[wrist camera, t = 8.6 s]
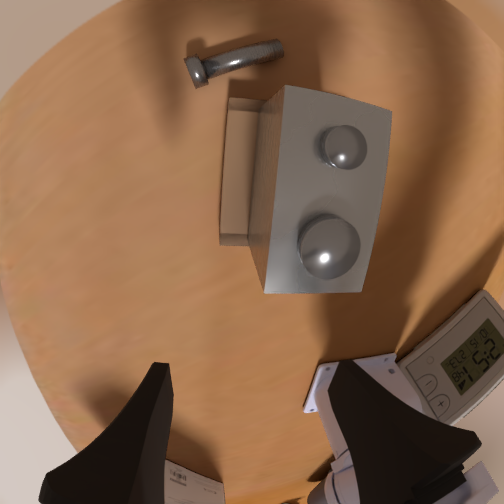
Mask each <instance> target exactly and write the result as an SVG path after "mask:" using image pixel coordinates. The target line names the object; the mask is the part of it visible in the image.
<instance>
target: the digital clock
mask: <svg viewBox="0 0 504 504" xmlns="http://www.w3.org/2000/svg"><path fill="white" fill-rule="evenodd" d="M397 366H398V367H399V369H400V370H401V371H402V373H403V374H404V376H405V377H406V379H407V380H408V381H409V383H410V384H411V386H412V387H413V389H414V390H415V391H416V393H417V395H418V396H419V399H420V401H421V405H422V413H423V414H425V415H426V416H429V417H431V418H433V419H435V420H437V421H440V422H442V423H445V424H448V425H451V426H453V425H454V424H455V423H457V422H458V421H459V420H460V419H461V418H464V417H465V416H466V415H467V414H469V413H470V412H471V411H472V410H473V409H474V408H475V407H476V406H477V405H478V404H480V403H481V402H482V401H483V400H484V399H485V398H486V397H487V396H488V395H489V394H490V393H491V392H492V391H493V390H494V389H495V388H496V387H497V386H498V385H499V384H500V382H501V381H502V380H503V379H504V310H503V309H502V308H501V307H500V305H499V304H498V303H497V302H496V300H495V299H494V298H493V297H492V296H491V295H490V294H489V293H488V292H487V291H486V290H484V289H482V290H480V291H478V292H477V293H476V294H475V295H474V296H473V297H472V299H471V300H470V301H469V302H468V303H467V304H465V303H464V304H463V305H462V306H461V307H460V308H459V309H458V310H457V311H456V312H455V313H454V314H453V315H452V316H451V317H450V318H449V319H448V320H447V321H445V322H444V323H443V324H442V325H441V326H440V327H439V328H438V329H436V330H435V331H434V332H433V333H432V334H431V335H429V336H428V337H427V338H426V339H425V340H423V341H422V342H421V343H420V344H418V345H417V346H416V347H415V348H414V350H413V351H412V352H411V353H409V354H408V355H407V356H405V357H404V358H403V359H401V360H400V361H399V362H398V363H397Z"/></svg>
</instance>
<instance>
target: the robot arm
mask: <svg viewBox="0 0 504 504" xmlns="http://www.w3.org/2000/svg"><path fill="white" fill-rule="evenodd" d="M396 357H397V355H396V354H395V353H390V354H385V355H380V356H374V357H368V358H362V359H355V360H352V359H350V360H342V361H339V362H333V363H325V364H321V365H319V366H318V368H317V371H316V374H315V377H314V380H313V383H312V386H311V389H310V391H309V394H308V397H307V400H306V402H305V405H304V408H303V411H304V413H310V412H317V411H318V412H319V415H320V418H321V421H322V423H323V426H324V429H325V432H326V434H327V437H328V440H329V443H330V445H331V448H332V451H333V454H334V456H335V459H336V460H335V461H334V462H332V463H331V467H332V470H333V471H332V472H330V473H329V474H328V476H327V478H326V482H325V486H324V490H325V496H326V500H327V502H328V504H486V503H487V502H488V501H489V500H490V499H491V498H493V496H494V495H495V494H497V493H498V491H499V490H498V488H497V486H496V484H495V483H494V481H493V479H492V477H491V476H490V474H489V473H488V471H487V469H486V467H485V466H484V464H483V462H482V461H480V462H478V463H477V464H476V465H475V466H473V467H472V468H471V469H469V470H468V471H467V472H465V473H464V474H463V473H462V470H463V469H464V466H463V464H462V463H463V462H464V461H466V460H467V459H468V458H469V457H470V456H471V455H472V454H474V453H475V452H476V451H477V449H479V448H480V446H481V444H482V443H481V441H480V440H479V438H478V437H477V435H476V433H475V432H474V431H469V430H465V429H461V428H457V427H453V426H451V425H448V424H445V423H442V422H440V421H437V420H435V419H433V418H431V417H429V416H426V415H425V414H423V413H422V405H421V401H420V399H419V396H418V395H417V393H416V391H415V390H414V389H413V387H412V386H411V384H410V383H409V381H408V380H407V379H406V377H405V376H404V374H403V373H402V371H401V370H400V369H399V367H398V366H397V364H396V363H395V362H394V361H395V359H396ZM173 397H174V394H173V387H172V381H171V374H170V367H169V363H159V362H154V363H153V364H152V365H151V367H150V369H149V371H148V372H147V374H146V376H145V377H144V379H143V381H142V382H141V384H140V385H139V387H138V388H137V390H136V391H135V393H134V394H133V396H132V397H131V399H130V400H129V401H128V403H127V404H126V405H125V407H124V408H123V409H122V411H121V412H120V413H119V414H118V416H117V417H116V418H115V419H114V420H113V422H112V423H111V424H110V425H109V426H108V427H107V428H106V429H105V430H104V431H103V432H102V433H101V434H100V435H99V436H98V437H97V438H96V439H95V440H94V441H93V442H92V443H90V444H89V445H88V446H87V447H86V448H84V449H83V450H82V451H80V452H79V453H78V454H77V455H75V456H74V457H72V458H71V459H70V460H68V461H67V462H65V463H64V464H62V465H60V466H58V467H57V468H55V469H54V470H52V471H50V472H48V473H47V474H46V476H45V478H44V480H43V483H42V486H41V490H40V495H39V502H40V503H41V504H165V497H164V473H165V458H166V451H167V445H168V439H169V433H170V427H171V421H172V413H173Z"/></svg>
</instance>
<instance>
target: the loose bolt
mask: <svg viewBox="0 0 504 504" xmlns="http://www.w3.org/2000/svg"><path fill="white" fill-rule="evenodd" d="M283 56H284V51H283V47H282V45H281V43H280V41H279V40H278V39H273V40H268V41H264V42H260V43H256V44H252V45H248V46H244V47H240V48H237V49H233V50H230V51H227V52H224V53H220V54H217V55H214V56H211V57H208V58H206V59H203V60H200V59H199V57H198V55H197V54H194V55H191V56H189V57H186V58H184V61H185V64H186V66H187V68H188V71H189V73H190V76H191V78H192V81H193V83H194V86H195V88H196V89H197V88H200V87H203V86H205V85H208V84H209V83H208V79H211V78H213V77H216V76H219V75H222V74H225V73H228V72H231V71H234V70H237V69H241V68H244V67H247V66H251V65H255V64H258V63H262V62H266V61H270V60H274V59H278V58H282V57H283Z"/></svg>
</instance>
